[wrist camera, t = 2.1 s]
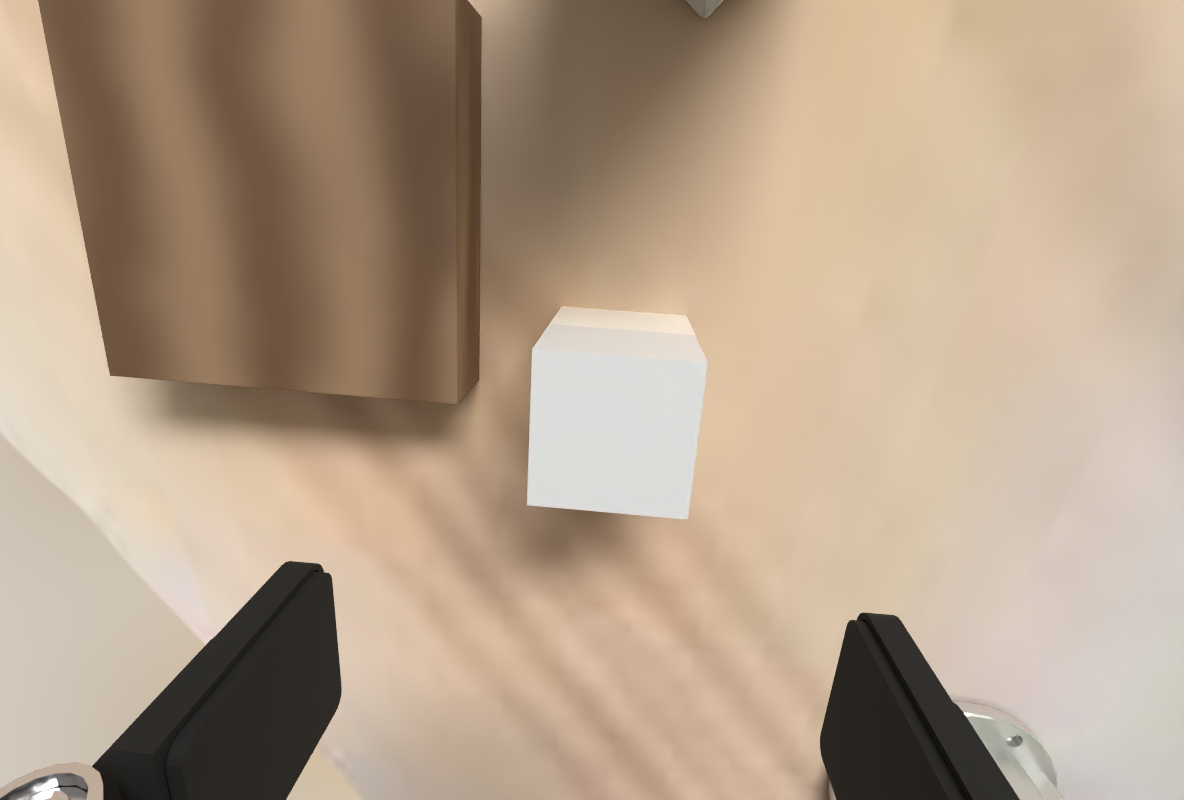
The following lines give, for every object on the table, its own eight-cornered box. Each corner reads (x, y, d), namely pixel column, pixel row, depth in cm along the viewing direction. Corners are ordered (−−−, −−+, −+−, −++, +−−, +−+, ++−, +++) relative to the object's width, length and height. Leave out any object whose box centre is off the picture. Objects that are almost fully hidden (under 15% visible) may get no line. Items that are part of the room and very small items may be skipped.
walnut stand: (481, 17, 26) (455, -15, 22) (479, 379, 31) (457, 404, 27) (117, -4, 26) (30, -38, 23) (173, 354, 31) (110, 375, 28)
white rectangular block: (686, 315, 29) (707, 362, 21) (672, 432, 31) (687, 519, 22) (561, 306, 29) (532, 348, 21) (556, 422, 31) (527, 505, 23)
